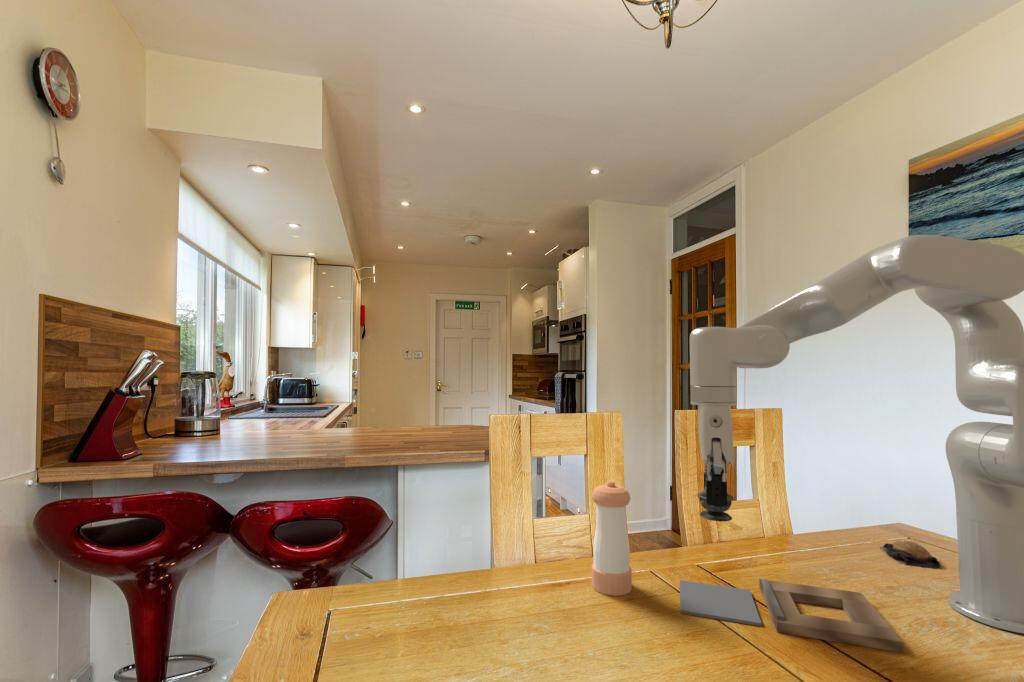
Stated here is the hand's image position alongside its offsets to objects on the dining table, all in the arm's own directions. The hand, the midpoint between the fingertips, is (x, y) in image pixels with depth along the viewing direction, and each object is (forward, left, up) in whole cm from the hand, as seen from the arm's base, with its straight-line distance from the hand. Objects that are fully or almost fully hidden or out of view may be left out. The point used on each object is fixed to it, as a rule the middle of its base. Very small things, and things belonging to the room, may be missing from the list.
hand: (715, 498), depth 83 cm
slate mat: (0, 0, -18) cm, 18 cm away
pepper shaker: (+18, 0, -18) cm, 25 cm away
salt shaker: (0, 0, -3) cm, 3 cm away
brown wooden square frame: (-16, -1, -18) cm, 24 cm away
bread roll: (-41, -36, -18) cm, 58 cm away
